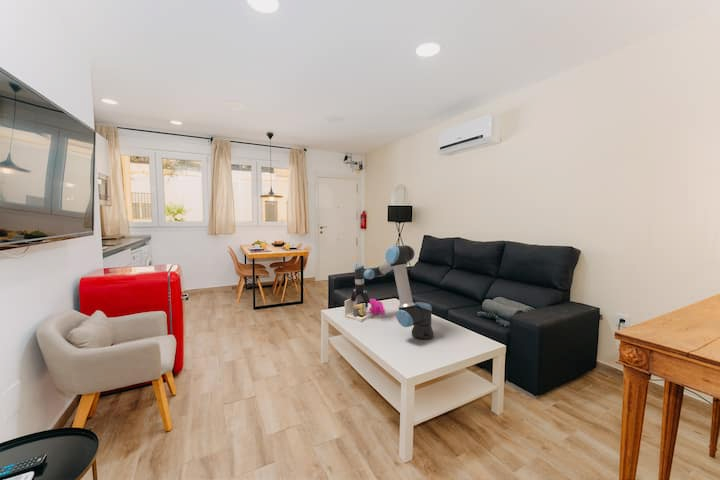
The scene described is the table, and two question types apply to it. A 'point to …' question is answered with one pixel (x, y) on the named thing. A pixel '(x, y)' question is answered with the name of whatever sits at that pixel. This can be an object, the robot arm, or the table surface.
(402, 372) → the table surface
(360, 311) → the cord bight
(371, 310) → the magenta lumpy block
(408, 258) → the robot arm
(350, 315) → the shelf
